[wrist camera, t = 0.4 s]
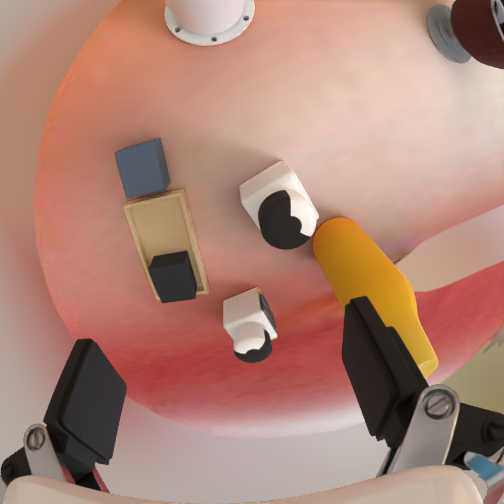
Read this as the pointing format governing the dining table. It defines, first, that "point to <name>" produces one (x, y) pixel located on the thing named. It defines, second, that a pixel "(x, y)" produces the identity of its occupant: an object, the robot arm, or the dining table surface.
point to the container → (279, 206)
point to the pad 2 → (173, 277)
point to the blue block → (143, 168)
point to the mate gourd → (469, 31)
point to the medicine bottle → (249, 325)
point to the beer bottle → (372, 283)
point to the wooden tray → (165, 232)
